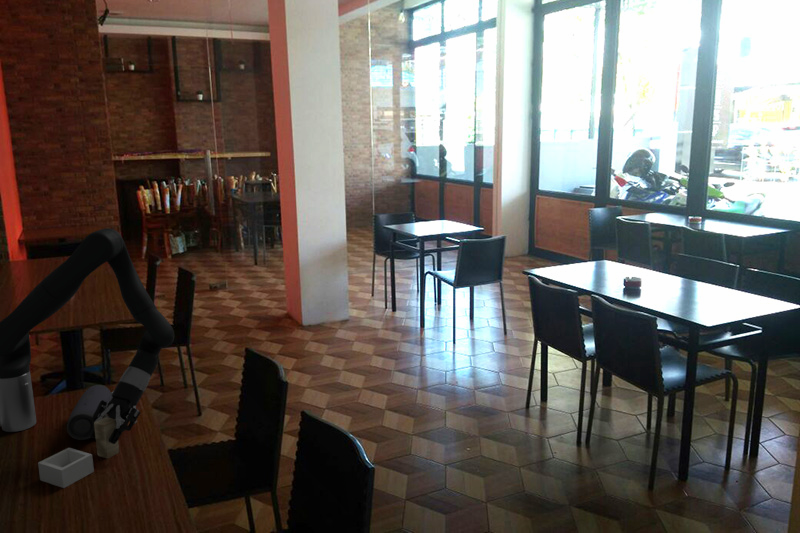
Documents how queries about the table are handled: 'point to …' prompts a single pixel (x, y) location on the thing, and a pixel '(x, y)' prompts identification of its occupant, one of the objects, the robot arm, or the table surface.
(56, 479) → the socket stand
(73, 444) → the table surface
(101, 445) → the birch peg
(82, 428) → the bluetooth speaker
